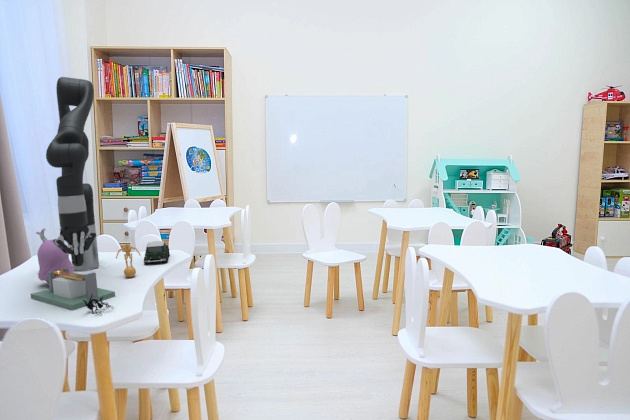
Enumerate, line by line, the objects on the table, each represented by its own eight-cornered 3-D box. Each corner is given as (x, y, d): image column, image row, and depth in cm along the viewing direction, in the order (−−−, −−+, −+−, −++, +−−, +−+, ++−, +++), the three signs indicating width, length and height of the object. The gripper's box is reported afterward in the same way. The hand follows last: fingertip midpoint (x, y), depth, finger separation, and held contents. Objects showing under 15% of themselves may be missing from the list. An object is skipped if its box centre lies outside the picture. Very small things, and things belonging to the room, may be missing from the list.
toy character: (83, 281, 166) (77, 225, 163) (59, 290, 156) (52, 231, 154) (57, 279, 170) (51, 224, 167) (32, 287, 160) (25, 230, 158)
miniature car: (170, 254, 204) (168, 236, 203) (167, 264, 187) (165, 245, 186) (148, 256, 202) (146, 238, 201) (143, 266, 185) (142, 246, 184)
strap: (52, 276, 150) (51, 271, 150) (61, 274, 153) (61, 269, 152) (82, 282, 141) (82, 276, 141) (92, 280, 144) (91, 274, 144)
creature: (117, 310, 139) (90, 305, 138) (120, 293, 138) (92, 288, 137) (107, 320, 131) (78, 315, 130) (110, 301, 130) (81, 297, 130)
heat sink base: (31, 298, 148) (27, 270, 147) (73, 286, 160) (70, 260, 159) (72, 310, 136) (69, 280, 135) (115, 296, 148) (112, 268, 147)
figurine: (118, 280, 166) (115, 247, 164) (117, 276, 171) (114, 244, 170) (143, 276, 170) (140, 244, 168) (141, 272, 175) (138, 241, 173)
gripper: (85, 206, 149) (91, 259, 152) (43, 212, 138) (50, 269, 141) (100, 207, 145) (105, 262, 148) (57, 214, 134) (64, 272, 137)
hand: (78, 265), depth 144 cm, fingers closed
